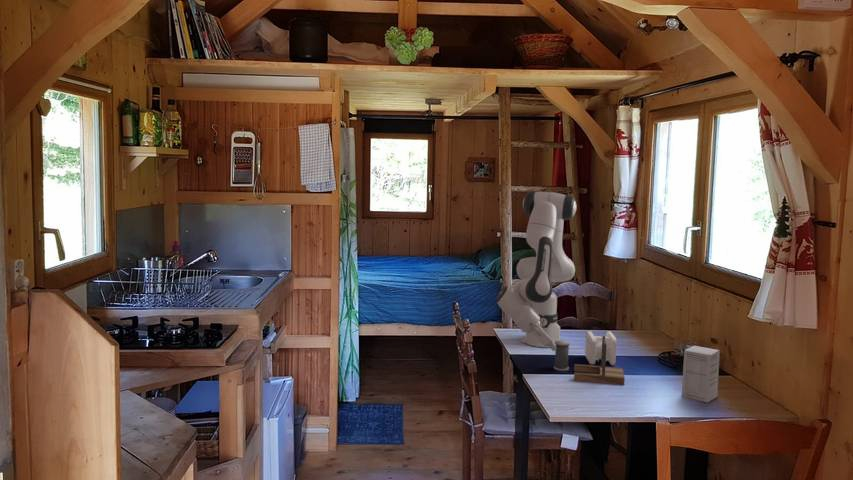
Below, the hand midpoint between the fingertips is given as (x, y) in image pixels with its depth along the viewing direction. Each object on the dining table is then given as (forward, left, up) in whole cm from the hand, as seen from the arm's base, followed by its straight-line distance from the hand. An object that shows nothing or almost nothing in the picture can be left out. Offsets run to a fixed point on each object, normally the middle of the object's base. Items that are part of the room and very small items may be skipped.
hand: (552, 346), depth 269 cm
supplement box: (+19, +52, -9) cm, 56 cm away
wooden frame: (+7, +18, -9) cm, 21 cm away
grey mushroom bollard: (-1, +4, -9) cm, 10 cm away
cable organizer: (-15, +19, -9) cm, 26 cm away
